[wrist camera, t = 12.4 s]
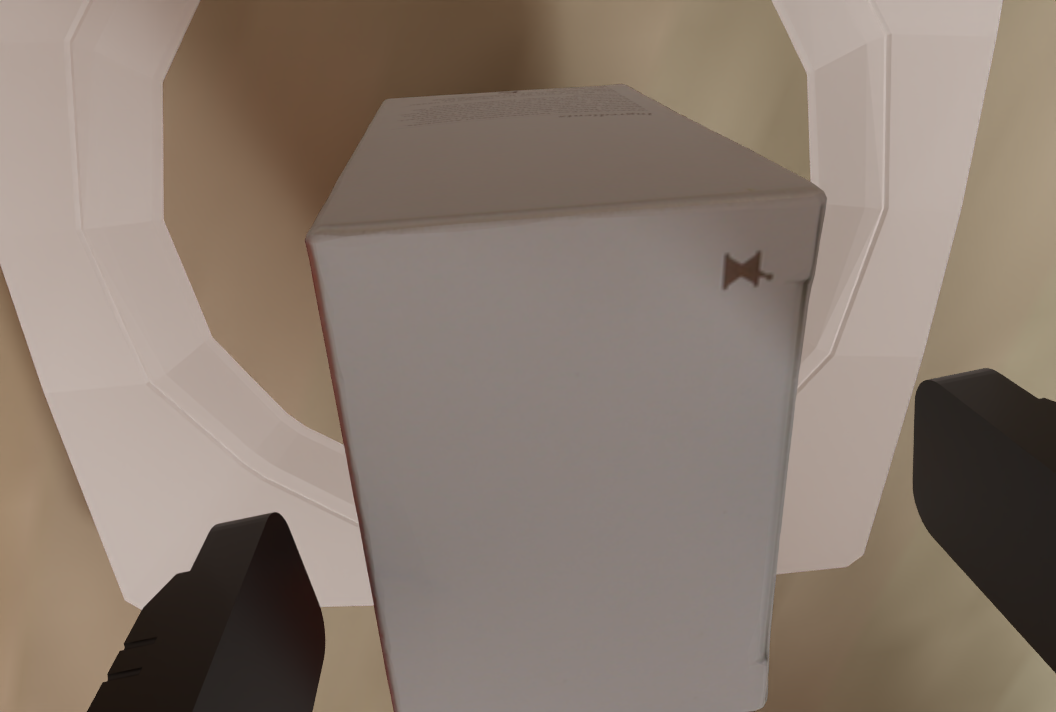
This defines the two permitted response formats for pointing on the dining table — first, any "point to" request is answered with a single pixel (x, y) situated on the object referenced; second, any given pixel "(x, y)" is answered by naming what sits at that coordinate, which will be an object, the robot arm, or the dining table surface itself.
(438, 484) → the small box
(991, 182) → the dining table surface
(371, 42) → the dining table surface
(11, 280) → the plate
